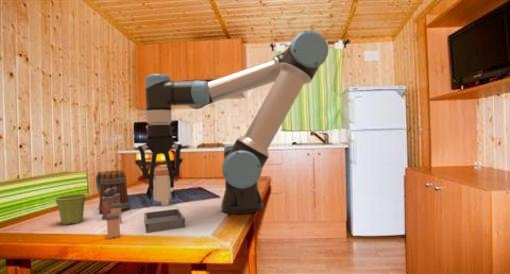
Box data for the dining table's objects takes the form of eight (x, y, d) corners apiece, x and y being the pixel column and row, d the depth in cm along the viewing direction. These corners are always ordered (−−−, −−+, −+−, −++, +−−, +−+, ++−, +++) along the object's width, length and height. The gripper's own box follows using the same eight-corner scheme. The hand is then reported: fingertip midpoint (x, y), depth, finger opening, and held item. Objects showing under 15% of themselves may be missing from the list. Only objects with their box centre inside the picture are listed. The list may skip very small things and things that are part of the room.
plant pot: (48, 225, 101) (47, 198, 100) (74, 217, 109) (73, 193, 109) (69, 227, 97) (68, 199, 97) (94, 219, 106) (93, 194, 106)
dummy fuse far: (122, 220, 103) (121, 202, 103) (121, 223, 100) (120, 204, 100) (111, 222, 102) (110, 203, 101) (110, 224, 99) (110, 205, 98)
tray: (178, 216, 106) (178, 208, 105) (185, 227, 93) (184, 218, 92) (144, 220, 101) (144, 212, 101) (146, 232, 88) (145, 223, 88)
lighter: (108, 219, 104) (107, 190, 104) (99, 219, 105) (98, 190, 105) (123, 213, 112) (121, 186, 112) (114, 213, 113) (113, 186, 113)
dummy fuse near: (120, 233, 89) (119, 212, 89) (120, 236, 86) (119, 215, 86) (108, 235, 88) (107, 214, 88) (107, 238, 85) (106, 217, 85)
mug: (135, 209, 119) (133, 170, 119) (109, 215, 110) (107, 173, 110) (111, 205, 127) (109, 169, 127) (85, 211, 118) (84, 172, 118)
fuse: (167, 197, 99) (166, 167, 99) (169, 200, 96) (167, 168, 96) (155, 199, 98) (154, 167, 98) (156, 201, 94) (155, 169, 94)
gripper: (184, 124, 103) (186, 194, 103) (130, 125, 97) (133, 199, 97) (188, 123, 96) (190, 198, 96) (130, 124, 90) (133, 204, 90)
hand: (162, 198), depth 97 cm, fingers closed on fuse, 4 cm apart
